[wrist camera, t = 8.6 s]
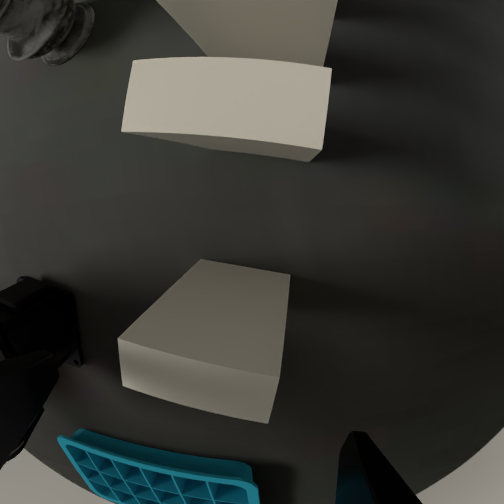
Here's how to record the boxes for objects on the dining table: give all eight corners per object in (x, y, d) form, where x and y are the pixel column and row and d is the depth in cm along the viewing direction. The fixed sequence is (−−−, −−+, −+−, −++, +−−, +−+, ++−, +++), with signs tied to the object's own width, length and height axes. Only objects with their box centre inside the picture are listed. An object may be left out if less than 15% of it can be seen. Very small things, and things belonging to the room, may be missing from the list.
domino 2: (308, 162, 15) (322, 149, 7) (212, 149, 16) (121, 131, 7) (313, 124, 15) (331, 68, 6) (218, 113, 15) (133, 60, 7)
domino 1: (318, 84, 14) (338, -3, 5) (223, 75, 15) (150, -5, 6) (322, 51, 13) (340, -51, 5) (229, 43, 14) (166, -51, 5)
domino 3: (284, 307, 17) (267, 423, 9) (198, 291, 18) (122, 385, 9) (290, 274, 17) (279, 377, 8) (201, 258, 17) (117, 338, 9)
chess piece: (103, -11, 14) (-10, -79, 2) (92, 56, 15) (-55, 7, 4) (45, 16, 14) (-65, -21, 3) (34, 79, 16) (-96, 62, 4)
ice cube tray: (266, 511, 24) (263, 533, 21) (105, 479, 27) (95, 494, 25) (261, 454, 21) (256, 481, 19) (67, 416, 25) (53, 433, 22)
